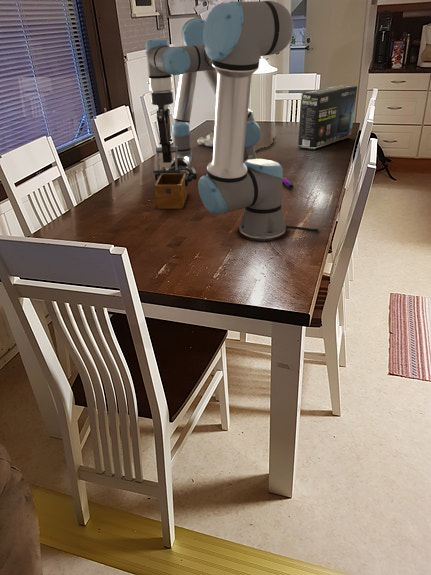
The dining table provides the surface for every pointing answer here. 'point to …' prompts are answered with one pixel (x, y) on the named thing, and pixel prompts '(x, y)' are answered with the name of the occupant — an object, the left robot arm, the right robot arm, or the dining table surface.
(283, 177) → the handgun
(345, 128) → the router box
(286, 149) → the dining table surface
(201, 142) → the fossil
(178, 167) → the left robot arm
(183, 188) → the chest
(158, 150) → the lid
